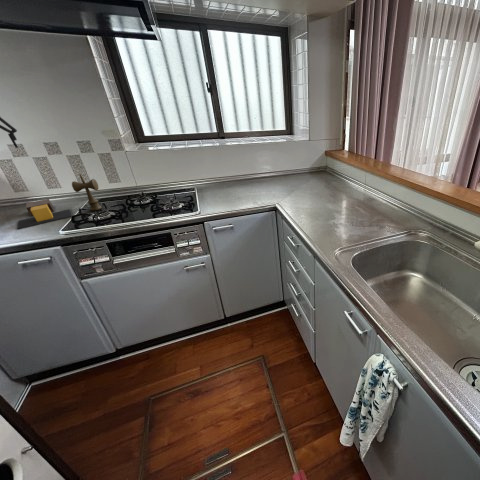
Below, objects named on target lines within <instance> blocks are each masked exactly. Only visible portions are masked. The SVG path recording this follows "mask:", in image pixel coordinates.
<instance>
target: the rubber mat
mask: <svg viewBox="0 0 480 480" xmlns="http://www.w3.org/2000/svg"><path fill="white" fill-rule="evenodd" d="M52 214H53V218H52V219H48V220H43V221H39V222H37V220H36V219H35V217H34V216H32V217H29V218H24V219H23V218H22V219H20V220H18V222H17V230H21V229H26V228H29V227H35V226H37V225H38V226H39V225H43V224H47V223H51V222H56V221H59V220H64V219H67V218H72V213H71V210H70V209H64V210H60V211H54V212H52Z"/></svg>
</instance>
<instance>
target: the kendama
mask: <svg viewBox="0 0 480 480" xmlns="http://www.w3.org/2000/svg"><path fill="white" fill-rule="evenodd" d="M78 175H79V178H80V180H81V182H79V181H75V180H74V181H72V182H71V187H72V189H73V191H74V192H75V193H79V192H80V191H82V190H84V189H85V193H86V195H87V204H89V206H90V209H89V210H90V212H91V211H92V212H96V211H100V210H102V209H103V206H101V205H100V204H99V200H98V199H97V198H96V197H94V195H93V194H92V192H91V190H94V191H99V183H98V181H97V180H96V179H95V178H91V179H90V180H89V181H88V182H86V181H85V180H84V177H83V176H82V174H81V173H79V174H78ZM90 189H91V190H90Z"/></svg>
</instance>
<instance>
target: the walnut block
mask: <svg viewBox="0 0 480 480" xmlns="http://www.w3.org/2000/svg"><path fill="white" fill-rule="evenodd" d="M45 204H47V205H48V207H49V209H50V211H51V212H52V213H55V209H54V208H55V207H54V206H53V205H54V204H52V202H51V200H50V198H46V199H39V200H35V201H30V202H26V203H25V209H26V210H27V212H28V213H29V215H30V218H32V217H34V216H33V214H32V212H31V207H35V206H40V205H45Z"/></svg>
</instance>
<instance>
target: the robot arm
mask: <svg viewBox="0 0 480 480" xmlns="http://www.w3.org/2000/svg"><path fill="white" fill-rule="evenodd" d="M0 122H1V123H2V125H1V124H0V129H1V130H3V131H4V132H7V135H8V137H9V139H10V140H11V142H12V144H13V145H14V147H15V149H16V148H17V149H18V148H19V146H18V144H17V143H16V141H17V140H18V139H17V137H16V135H15V133H17V132H18V129H17V128H15V127H14V126H13V125H11V124H10V123H9V122H8V121H6V120H5V119H4V118H3V117H1V116H0ZM3 125H5V126H6V127H5V126H3ZM7 127H8V128H7Z"/></svg>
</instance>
